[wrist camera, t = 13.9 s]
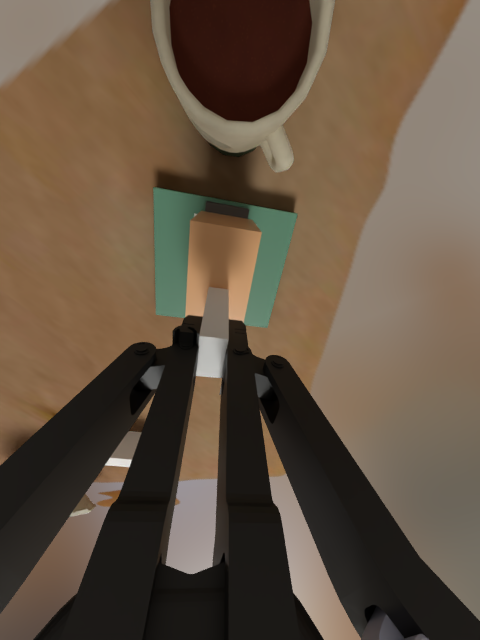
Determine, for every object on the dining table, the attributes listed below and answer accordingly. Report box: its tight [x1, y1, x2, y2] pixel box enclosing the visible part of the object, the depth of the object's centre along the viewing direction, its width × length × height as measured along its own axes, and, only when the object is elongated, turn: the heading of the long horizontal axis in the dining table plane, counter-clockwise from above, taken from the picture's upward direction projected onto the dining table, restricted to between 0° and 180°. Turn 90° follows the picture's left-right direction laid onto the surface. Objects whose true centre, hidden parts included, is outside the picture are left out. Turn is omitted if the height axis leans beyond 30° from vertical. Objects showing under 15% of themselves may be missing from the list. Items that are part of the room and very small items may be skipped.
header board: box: [153, 187, 297, 328], centre depth 23 cm, size 14×14×7 cm
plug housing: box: [185, 211, 262, 323], centre depth 22 cm, size 5×15×7 cm, turn 171°
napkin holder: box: [105, 431, 142, 467], centre depth 39 cm, size 15×11×6 cm
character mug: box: [150, 0, 335, 172], centre depth 14 cm, size 11×7×13 cm, turn 31°
